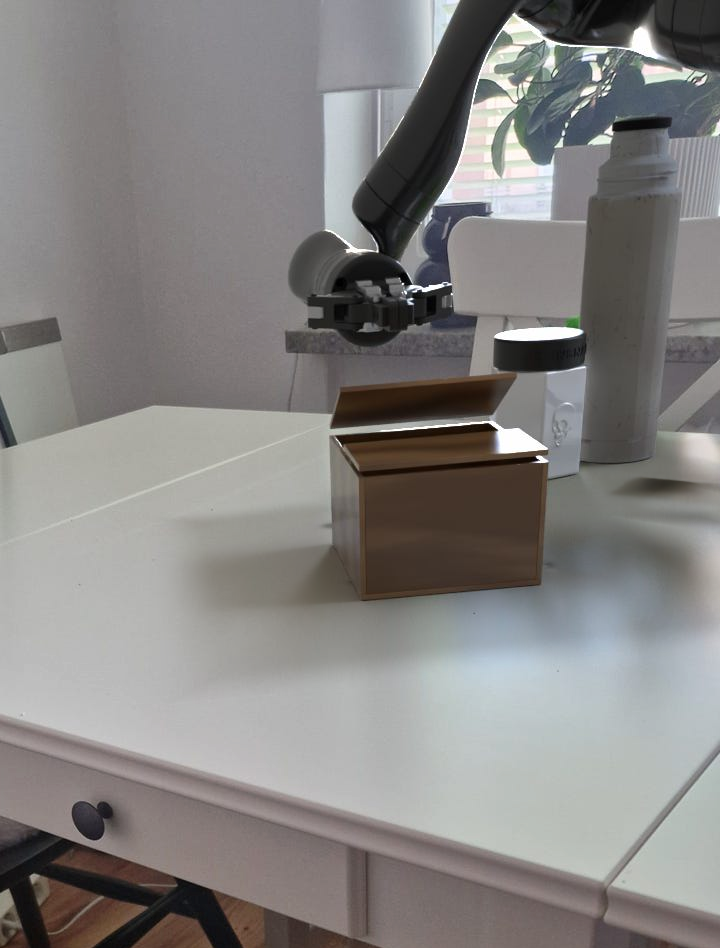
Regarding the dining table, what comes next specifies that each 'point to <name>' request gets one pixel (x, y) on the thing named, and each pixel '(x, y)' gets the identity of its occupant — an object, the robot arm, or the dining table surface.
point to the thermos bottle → (628, 291)
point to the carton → (438, 509)
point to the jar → (544, 390)
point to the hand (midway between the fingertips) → (399, 316)
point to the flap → (420, 400)
